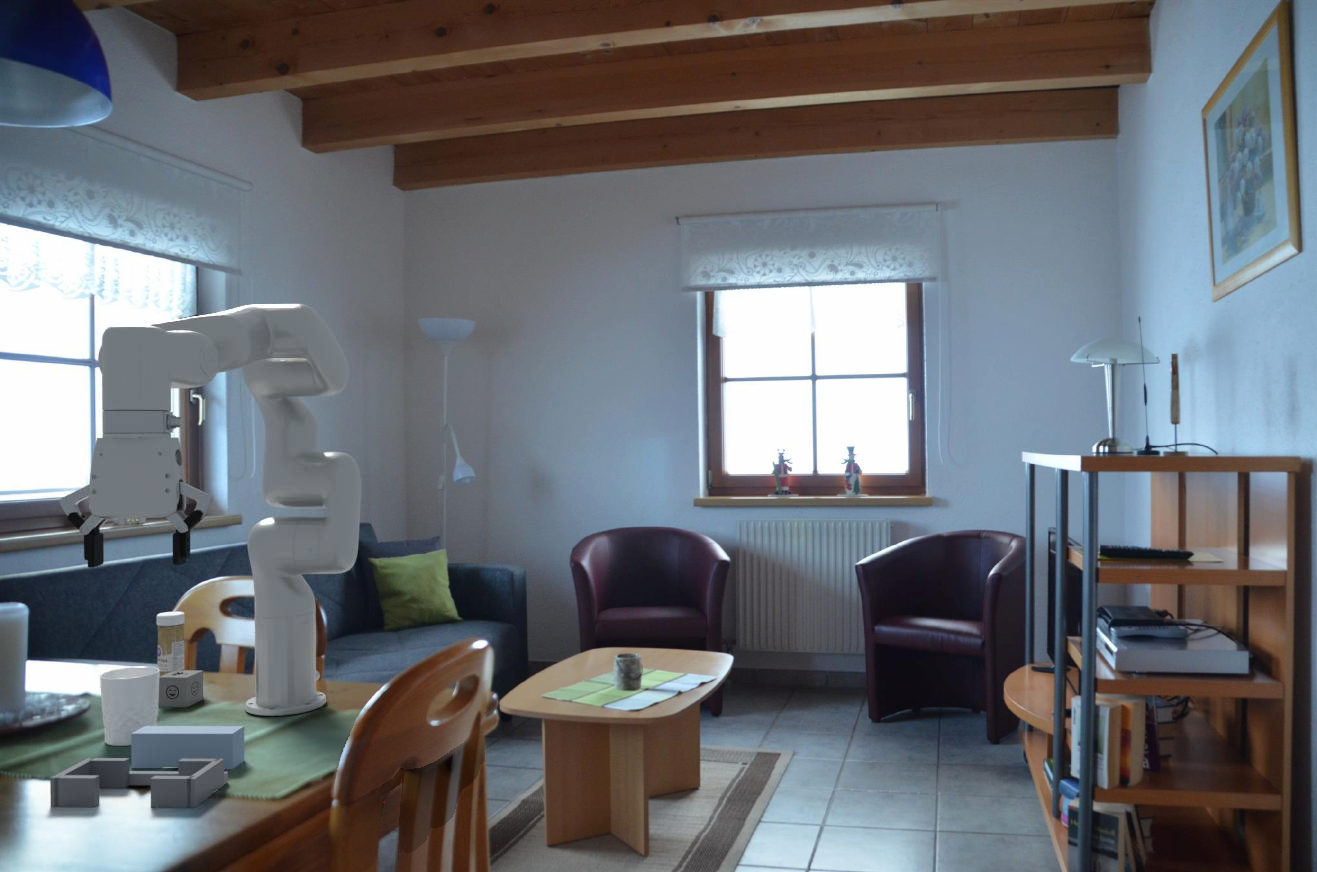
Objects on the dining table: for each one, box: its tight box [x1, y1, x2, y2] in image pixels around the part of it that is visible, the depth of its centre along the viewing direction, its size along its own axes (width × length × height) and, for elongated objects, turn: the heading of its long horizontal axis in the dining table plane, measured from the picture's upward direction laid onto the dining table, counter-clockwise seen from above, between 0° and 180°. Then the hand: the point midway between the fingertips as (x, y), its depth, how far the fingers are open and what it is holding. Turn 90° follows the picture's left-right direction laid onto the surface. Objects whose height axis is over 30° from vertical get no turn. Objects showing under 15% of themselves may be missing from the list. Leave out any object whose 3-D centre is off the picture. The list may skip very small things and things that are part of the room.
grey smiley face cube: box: [158, 669, 204, 708], centre depth 169 cm, size 5×5×5 cm
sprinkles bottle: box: [156, 611, 186, 676], centre depth 179 cm, size 5×5×14 cm
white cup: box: [99, 666, 160, 747], centre depth 149 cm, size 8×8×10 cm
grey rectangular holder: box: [49, 757, 229, 809], centre depth 126 cm, size 8×18×4 cm, turn 88°
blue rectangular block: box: [130, 725, 245, 770], centre depth 137 cm, size 14×4×5 cm, turn 88°
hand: (137, 565), depth 123 cm, fingers open, 9 cm apart
